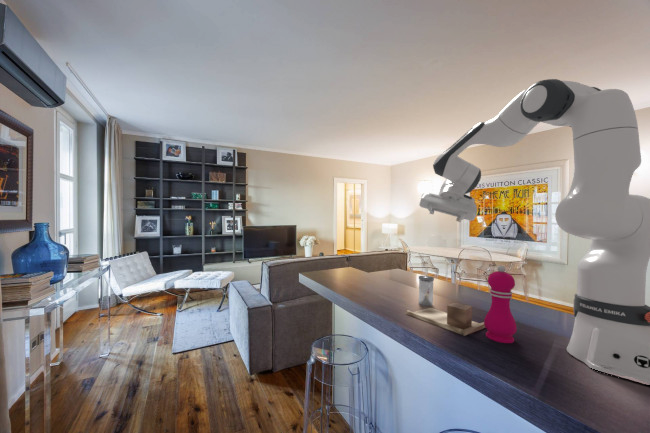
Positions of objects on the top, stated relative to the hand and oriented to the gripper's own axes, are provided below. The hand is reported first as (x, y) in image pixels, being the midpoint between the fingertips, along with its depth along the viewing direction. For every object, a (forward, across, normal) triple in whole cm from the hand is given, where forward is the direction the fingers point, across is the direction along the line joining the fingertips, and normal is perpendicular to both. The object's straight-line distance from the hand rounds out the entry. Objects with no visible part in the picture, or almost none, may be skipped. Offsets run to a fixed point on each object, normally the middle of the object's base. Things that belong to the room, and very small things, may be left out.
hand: (445, 216), depth 100 cm
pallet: (+31, +9, +18) cm, 37 cm away
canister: (+20, +3, +27) cm, 34 cm away
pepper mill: (+36, +21, +12) cm, 44 cm away
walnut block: (+34, +12, +14) cm, 39 cm away
